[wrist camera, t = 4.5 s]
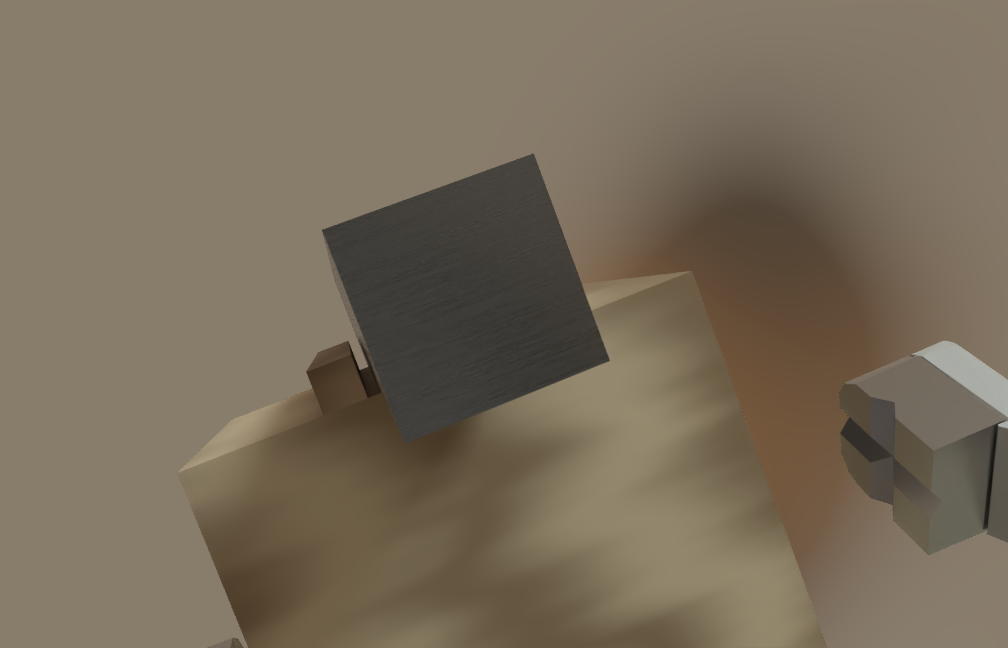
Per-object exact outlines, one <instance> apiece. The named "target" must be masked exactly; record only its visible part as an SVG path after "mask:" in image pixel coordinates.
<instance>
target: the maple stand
mask: <svg viewBox="0 0 1008 648" xmlns="http://www.w3.org/2000/svg"><path fill="white" fill-rule="evenodd" d="M582 286H583V289H584V292H585V294H586V297H587V300H588V302H589V305H590V308H591V311H592V313H593V316H594V319H595V321H596V324H597V327H598V330H599V332H600V335H601V338H602V340H603V343H604V346H605V349H606V351H607V354H608V357H609V359H610V361H609V362H606V363H604V364H601V365H599V366H596V367H594V368H591V369H589V370H586V371H584V372H581V373H579V374H576V375H574V376H571V377H569V378H566V379H564V380H561V381H559V382H556V383H554V384H551V385H549V386H546V387H544V388H541V389H539V390H537V391H534V392H532V393H529V394H527V395H524V396H522V397H519V398H517V399H514V400H512V401H509V402H507V403H504V404H502V405H499V406H497V407H494V408H492V409H489V410H487V411H484V412H482V413H479V414H477V415H474V416H472V417H469V418H467V419H464V420H462V421H459V422H457V423H455V424H452V425H450V426H447V427H445V428H442V429H440V430H437V431H435V432H432V433H430V434H427V435H425V436H422V437H420V438H417V439H415V440H412V441H410V442H407V443H404V441H403V439H402V437H401V435H400V432H399V430H398V428H397V426H396V424H395V422H394V420H393V418H392V415H391V413H390V411H389V409H388V407H387V405H386V403H385V401H384V399H383V396H382V394H381V392H380V390H379V388H378V386H377V384H376V382H375V379H374V377H373V375H372V373H371V371H370V369H369V367H367V368H364V369H362V370H359V367H358V365H357V362H356V360H355V357H354V355H353V352H352V349H351V347H350V344H349V342H348V341H347V342H344V343H342V344H339V345H336V346H334V347H331V348H329V349H326V350H323V351H321V352H318V354H317V355H316V357H315V359H314V360H313V362H312V363H311V365H310V367H309V368H308V370H307V375H308V377H309V380H310V383H311V385H312V388H313V389H310V390H308V391H305V392H302V393H300V394H297V395H295V396H292V397H289V398H287V399H284V400H282V401H279V402H276V403H274V404H272V405H269V406H266V407H264V408H261V409H259V410H256V411H253V412H251V413H248V414H246V415H243V416H240V417H238V418H235V419H233V420H232V421H230V422H229V423H228V424H227V425H226V426H225V427H224V428H223V429H222V430H221V431H220V432H219V433H218V434H217V435H216V436H215V437H214V438H213V439H212V440H211V441H210V442H209V443H208V444H207V445H206V446H205V447H203V449H202V450H201V451H199V452H198V453H197V454H196V455H195V456H194V457H193V458H192V459H191V460H190V461H189V462H188V463H187V464H186V465H185V466H184V467H183V468H182V469H181V470H180V471H179V472H178V473H177V474H178V476H179V478H180V481H181V483H182V486H183V488H184V491H185V493H186V496H187V498H188V501H189V503H190V505H191V508H192V510H193V513H194V515H195V518H196V520H197V523H198V525H199V528H200V530H201V533H202V535H203V537H204V540H205V542H206V545H207V547H208V550H209V552H210V555H211V557H212V559H213V562H214V564H215V567H216V569H217V572H218V574H219V577H220V579H221V582H222V584H223V587H224V589H225V591H226V594H227V596H228V599H229V601H230V604H231V606H232V609H233V611H234V614H235V616H236V618H237V621H238V623H239V626H240V628H241V631H242V633H243V636H244V638H245V641H246V643H247V645H248V648H827V646H826V643H825V640H824V637H823V634H822V632H821V629H820V626H819V623H818V620H817V618H816V615H815V612H814V610H813V607H812V604H811V601H810V598H809V595H808V593H807V590H806V587H805V585H804V582H803V579H802V576H801V574H800V570H799V568H798V565H797V562H796V559H795V557H794V554H793V551H792V548H791V545H790V543H789V540H788V537H787V534H786V532H785V529H784V526H783V523H782V520H781V518H780V515H779V512H778V509H777V507H776V504H775V501H774V498H773V495H772V493H771V490H770V487H769V484H768V482H767V479H766V476H765V473H764V471H763V468H762V465H761V462H760V459H759V457H758V454H757V451H756V448H755V445H754V443H753V440H752V437H751V434H750V432H749V429H748V426H747V423H746V420H745V418H744V415H743V412H742V410H741V406H740V404H739V401H738V398H737V395H736V393H735V390H734V387H733V384H732V381H731V379H730V376H729V373H728V371H727V368H726V365H725V362H724V359H723V356H722V354H721V351H720V348H719V346H718V343H717V340H716V337H715V335H714V332H713V329H712V326H711V323H710V320H709V318H708V315H707V312H706V309H705V306H704V304H703V301H702V298H701V295H700V293H699V290H698V287H697V284H696V281H695V279H694V276H693V273H692V271H688V272H680V273H671V274H663V275H654V276H646V277H638V278H629V279H621V280H613V281H605V282H596V283H587V284H582Z"/></svg>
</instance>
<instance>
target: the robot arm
mask: <svg viewBox="0 0 1008 648" xmlns="http://www.w3.org/2000/svg"><path fill="white" fill-rule="evenodd" d="M839 399H840V409H841V410H843V411H844V412H845V413H846V414H847V415H848V416H849V419H848V421H847V422H846V424H845V426H844V428H843V429H842V431H841V433H840V437H841V452H842V455H843V457H844V460H845V463H846V465H847V468H848V470H849V472H850V474H851V475H852V477H853V478H854V480H855V481H856V483H857V484H858V485H859V486H860V487H861V489H862V490H863V491H864V492H865V493H866V494H867V495H868V496H869V497H870V498H872V499H875V500H878V501H882V502H885V503H888V504H891V505H893V521H894V522H895V523H896V524H897V525H898V526H899V527H900V528H901V529H902V530H903V531H904V532H905V533H906V534H907V535H908V536H909V537H910V538H911V539H912V540H913V541H914V542H915V543H916V544H918V546H919V547H921V548H922V549H923V550H924V551H925V552H926V553H927V554H928V555H930V554H932V553H935V552H937V551H940V550H942V549H944V548H947V547H949V546H951V545H954V544H956V543H958V542H961V541H963V540H966V539H968V538H970V537H973V536H975V535H978V534H980V533H983V532H985V531H987V534H988V535H990V536H993V537H995V538H998V539H1000V540H1003V541H1005V542H1008V380H1007V379H1005V378H1004V377H1003V376H1001V375H1000V374H998V373H997V372H996V371H994V370H993V369H991V368H990V367H988V366H987V365H986V364H984V363H983V362H981V361H980V360H978V359H977V358H976V357H974V356H972V355H971V354H970V353H968V352H967V351H965V350H964V349H962V348H961V347H960V346H958V345H957V344H955V343H953V342H948V341H942V342H940V343H937V344H935V345H933V346H930V347H928V348H926V349H924V350H921V351H919V352H916V353H914V354H911V355H910V356H909V357H904V358H902V359H900V360H897V361H895V362H893V363H890V364H888V365H886V366H883V367H881V368H879V369H877V370H874V371H872V372H869V373H867V374H865V375H862V376H860V377H858V378H855V379H853V380H851V381H848V382H846V383H844V384H843V386H842V388H841V390H840V395H839ZM208 648H243V646H242V644H241V643H240V642H239V640H238V639H236V638H231V639H229V640H226V641H224V642H221V643H219V644H216V645H214V646H211V647H208Z"/></svg>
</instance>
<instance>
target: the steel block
mask: <svg viewBox="0 0 1008 648" xmlns="http://www.w3.org/2000/svg"><path fill="white" fill-rule="evenodd" d="M322 232H323V236H324V240H325V244H326V248H327V252H328V256H329V260H330V264H331V268H332V272H333V275H334V279H335V283H336V285H337V288H338V290H339V293H340V295H341V298H342V300H343V303H344V306H345V309H346V311H347V313H348V316H349V319H350V321H351V324H352V326H353V329H354V332H355V334H356V337H357V339H358V342H359V345H360V347H361V349H362V352H363V355H364V357H365V360H366V362H367V364H368V367H369V369H370V371H371V373H372V375H373V377H374V379H375V382H376V384H377V386H378V388H379V390H380V392H381V394H382V396H383V399H384V401H385V403H386V405H387V407H388V409H389V411H390V413H391V415H392V418H393V420H394V422H395V424H396V426H397V428H398V430H399V432H400V435H401V437H402V439H403V441H404V443H407V442H410V441H412V440H415V439H417V438H420V437H422V436H425V435H427V434H430V433H432V432H435V431H437V430H440V429H442V428H445V427H447V426H450V425H452V424H455V423H457V422H459V421H462V420H464V419H467V418H469V417H472V416H474V415H477V414H479V413H482V412H484V411H487V410H489V409H492V408H494V407H497V406H499V405H502V404H504V403H507V402H509V401H512V400H514V399H517V398H519V397H522V396H524V395H527V394H529V393H532V392H534V391H537V390H539V389H541V388H544V387H546V386H549V385H551V384H554V383H556V382H559V381H561V380H564V379H566V378H569V377H571V376H574V375H576V374H579V373H581V372H584V371H586V370H589V369H591V368H594V367H596V366H599V365H601V364H604V363H606V362H609V361H610V359H609V357H608V354H607V351H606V349H605V346H604V343H603V340H602V338H601V335H600V332H599V330H598V327H597V324H596V321H595V319H594V316H593V313H592V311H591V308H590V305H589V302H588V300H587V297H586V294H585V292H584V289H583V286H582V283H581V281H580V278H579V275H578V273H577V270H576V267H575V264H574V262H573V259H572V256H571V254H570V251H569V248H568V245H567V243H566V240H565V238H564V235H563V232H562V229H561V227H560V224H559V221H558V219H557V216H556V213H555V210H554V208H553V205H552V202H551V199H550V197H549V194H548V191H547V189H546V186H545V183H544V180H543V178H542V175H541V172H540V170H539V167H538V164H537V161H536V159H535V156H534V154H531V155H528V156H525V157H523V158H520V159H517V160H514V161H512V162H509V163H506V164H503V165H500V166H498V167H495V168H492V169H489V170H487V171H484V172H481V173H478V174H476V175H473V176H470V177H467V178H464V179H462V180H459V181H456V182H454V183H451V184H448V185H445V186H443V187H440V188H437V189H434V190H431V191H429V192H426V193H423V194H420V195H418V196H415V197H412V198H409V199H406V200H404V201H401V202H398V203H395V204H392V205H390V206H387V207H384V208H381V209H379V210H376V211H373V212H370V213H368V214H365V215H362V216H359V217H356V218H354V219H351V220H348V221H346V222H343V223H340V224H337V225H334V226H332V227H329V228H326V229H323V230H322Z"/></svg>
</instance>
